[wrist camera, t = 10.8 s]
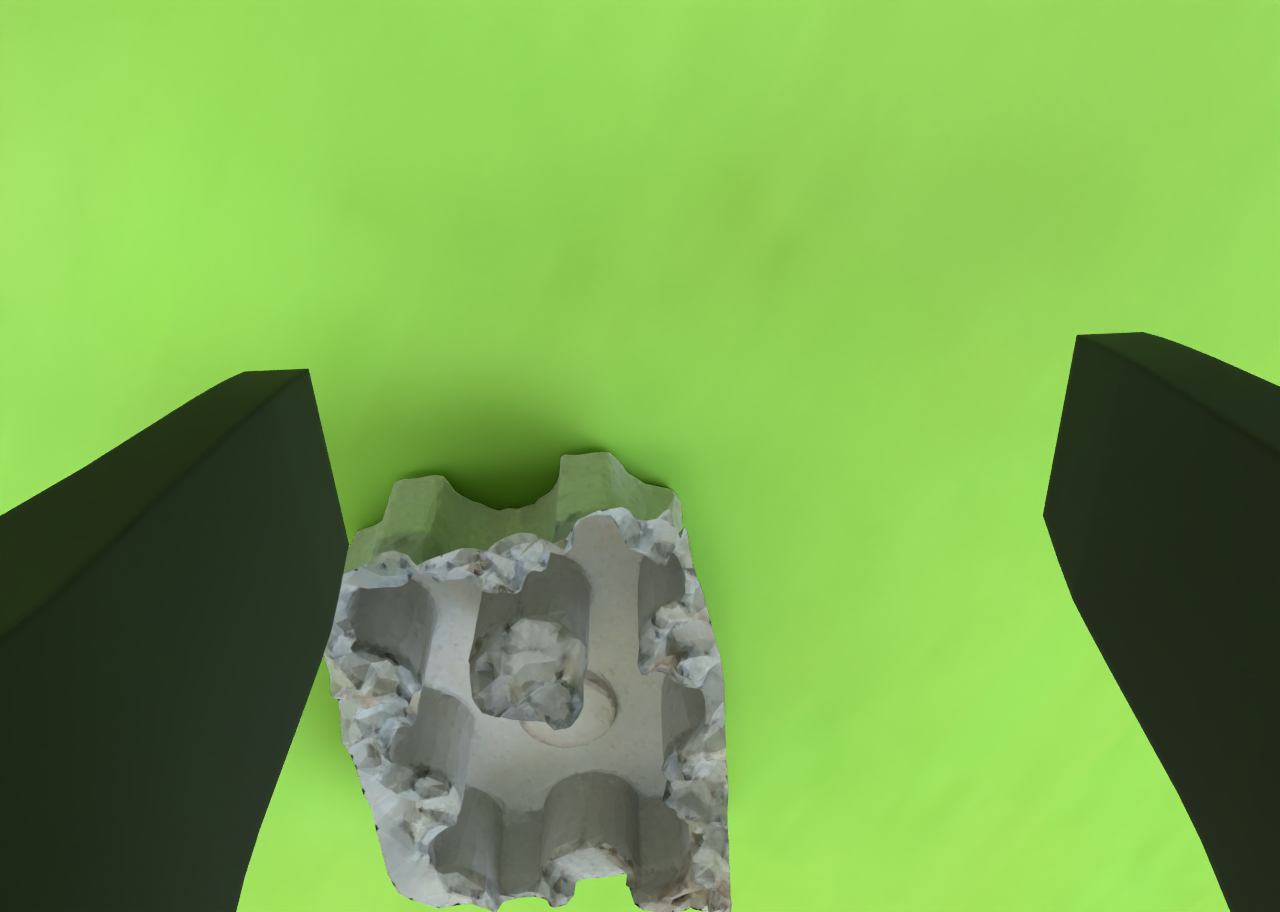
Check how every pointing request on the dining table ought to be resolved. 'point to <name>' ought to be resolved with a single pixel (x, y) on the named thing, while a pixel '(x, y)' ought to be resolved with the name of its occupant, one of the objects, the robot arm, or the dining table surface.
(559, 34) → the dining table surface
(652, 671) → the egg carton
